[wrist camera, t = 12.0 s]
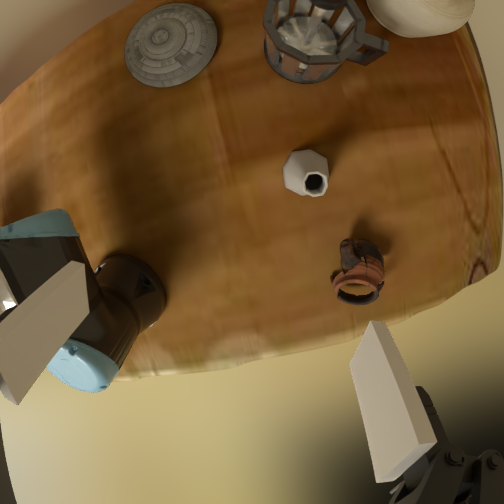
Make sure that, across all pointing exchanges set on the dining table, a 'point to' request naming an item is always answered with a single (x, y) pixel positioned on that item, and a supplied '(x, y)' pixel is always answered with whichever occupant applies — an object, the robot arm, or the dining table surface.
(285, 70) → the press carafe
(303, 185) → the flask
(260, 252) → the dining table surface
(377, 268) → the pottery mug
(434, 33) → the jug
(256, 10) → the dining table surface
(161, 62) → the flying saucer
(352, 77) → the dining table surface
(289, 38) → the plunger
